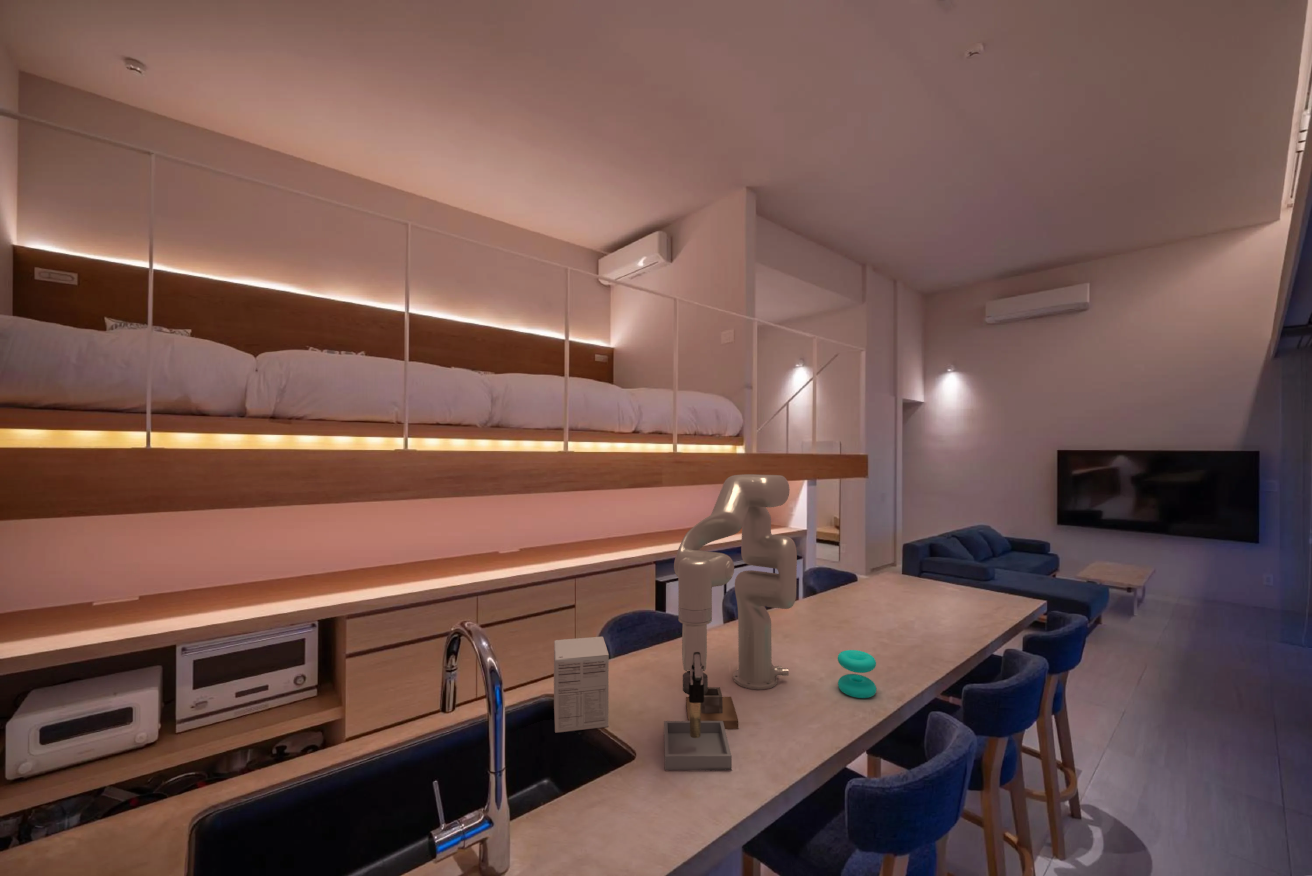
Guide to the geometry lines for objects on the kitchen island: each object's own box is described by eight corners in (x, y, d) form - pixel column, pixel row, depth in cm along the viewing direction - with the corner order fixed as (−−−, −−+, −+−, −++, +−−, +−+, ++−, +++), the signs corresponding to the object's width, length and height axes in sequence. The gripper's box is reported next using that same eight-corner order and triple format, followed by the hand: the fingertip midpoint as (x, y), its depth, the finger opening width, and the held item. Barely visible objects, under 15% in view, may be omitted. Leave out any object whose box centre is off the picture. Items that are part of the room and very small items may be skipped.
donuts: (866, 666, 136) (831, 655, 143) (867, 704, 136) (831, 691, 143) (882, 655, 143) (847, 645, 150) (882, 691, 142) (847, 680, 150)
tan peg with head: (682, 728, 117) (682, 670, 118) (706, 728, 117) (706, 671, 118) (683, 742, 112) (683, 681, 112) (709, 742, 112) (708, 681, 112)
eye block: (731, 704, 136) (731, 681, 136) (738, 729, 124) (738, 703, 124) (685, 704, 136) (685, 681, 136) (688, 729, 124) (688, 704, 124)
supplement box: (609, 727, 125) (609, 654, 125) (554, 734, 122) (554, 659, 122) (603, 701, 137) (603, 635, 138) (553, 706, 135) (553, 639, 135)
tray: (723, 733, 122) (722, 720, 122) (731, 770, 108) (731, 756, 108) (664, 733, 122) (664, 721, 122) (665, 770, 108) (664, 756, 108)
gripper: (676, 602, 124) (677, 678, 123) (680, 626, 107) (680, 715, 106) (707, 602, 124) (708, 678, 123) (716, 626, 107) (716, 715, 106)
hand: (695, 694), depth 115 cm, fingers closed on tan peg with head, 5 cm apart
